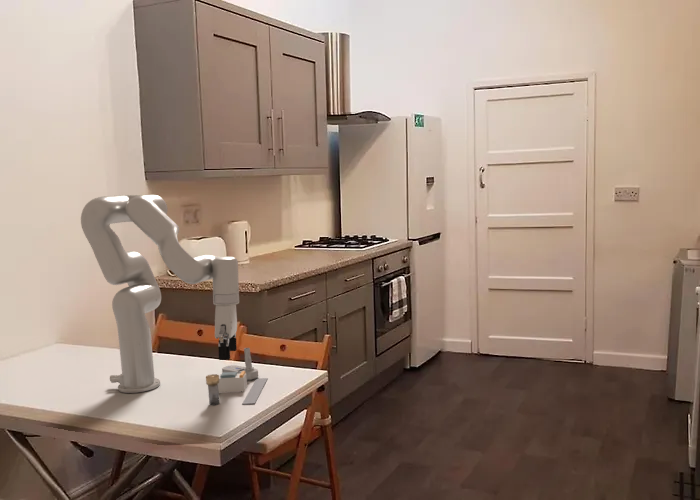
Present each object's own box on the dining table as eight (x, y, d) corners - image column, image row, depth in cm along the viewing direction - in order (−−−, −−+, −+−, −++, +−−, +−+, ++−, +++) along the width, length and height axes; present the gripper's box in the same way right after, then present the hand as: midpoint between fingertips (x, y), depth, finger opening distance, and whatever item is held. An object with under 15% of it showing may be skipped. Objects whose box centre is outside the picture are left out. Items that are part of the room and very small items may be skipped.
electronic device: (229, 343, 229) (258, 347, 218) (232, 372, 229) (262, 377, 219) (216, 346, 225) (245, 351, 215) (219, 376, 226) (248, 382, 215)
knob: (206, 406, 194) (204, 378, 193) (209, 402, 198) (207, 374, 197) (219, 405, 194) (217, 377, 193) (222, 401, 197) (220, 374, 197)
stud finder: (217, 393, 206) (216, 376, 205) (221, 388, 210) (219, 372, 210) (244, 392, 206) (243, 375, 205) (247, 387, 210) (246, 370, 210)
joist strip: (242, 404, 193) (242, 403, 193) (256, 379, 217) (256, 378, 217) (254, 404, 193) (254, 403, 193) (267, 378, 217) (267, 378, 217)
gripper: (219, 293, 214) (221, 347, 216) (206, 304, 197) (208, 363, 199) (244, 293, 214) (245, 347, 216) (232, 304, 196) (234, 363, 199)
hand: (227, 355), depth 207 cm, fingers open, 9 cm apart
